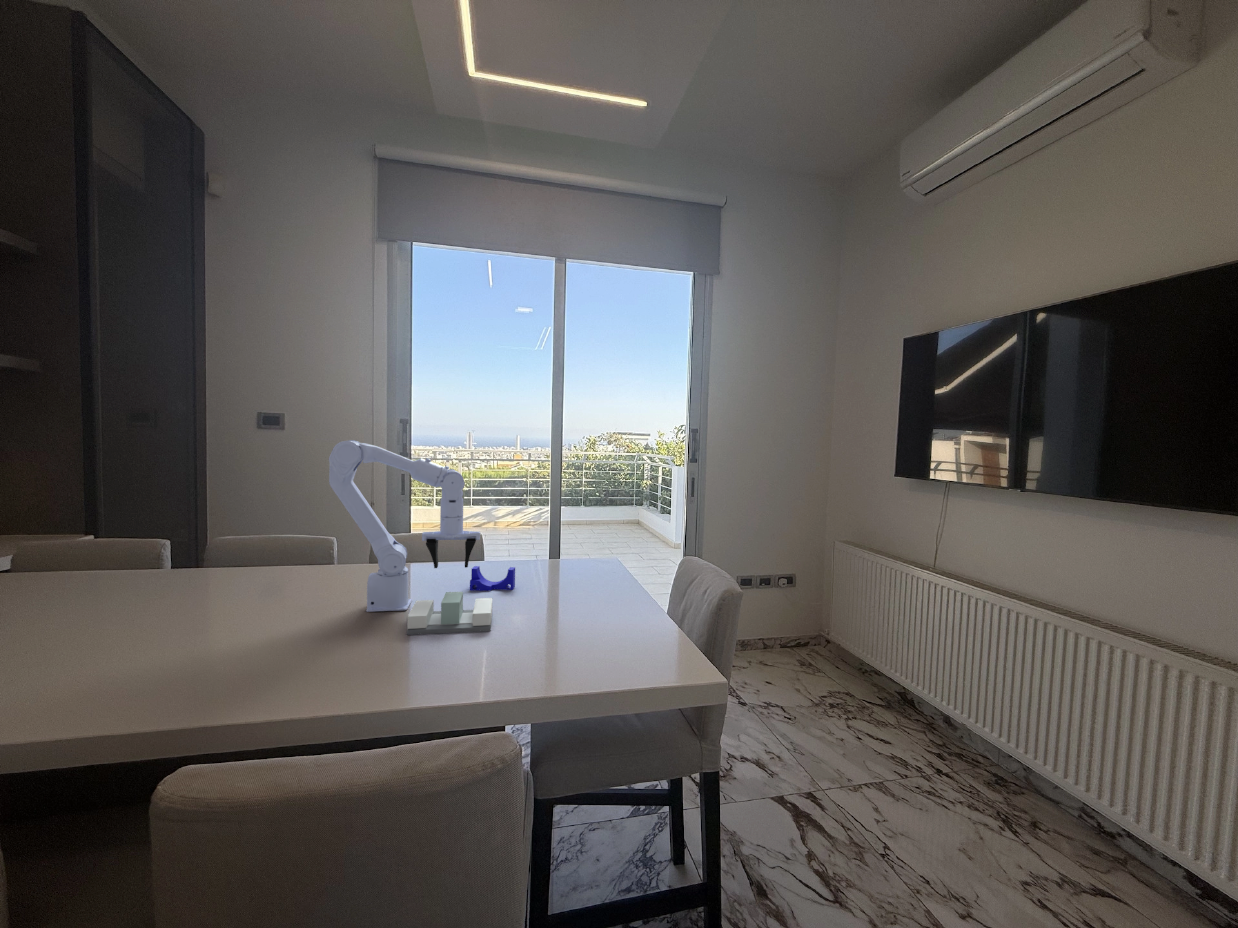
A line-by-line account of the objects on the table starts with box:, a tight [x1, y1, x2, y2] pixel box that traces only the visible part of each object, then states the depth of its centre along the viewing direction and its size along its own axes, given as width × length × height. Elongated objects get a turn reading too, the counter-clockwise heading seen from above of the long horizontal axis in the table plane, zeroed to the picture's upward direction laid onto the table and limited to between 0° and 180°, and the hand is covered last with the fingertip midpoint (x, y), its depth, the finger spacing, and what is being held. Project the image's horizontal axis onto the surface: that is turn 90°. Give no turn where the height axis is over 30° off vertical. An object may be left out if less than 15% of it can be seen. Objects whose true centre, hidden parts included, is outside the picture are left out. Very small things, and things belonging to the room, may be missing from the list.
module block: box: [440, 591, 464, 624], centre depth 124 cm, size 4×8×5 cm, turn 11°
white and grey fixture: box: [406, 597, 493, 636], centre depth 123 cm, size 18×12×4 cm, turn 102°
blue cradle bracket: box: [469, 565, 516, 592], centre depth 151 cm, size 12×4×6 cm, turn 90°
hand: (451, 566), depth 138 cm, fingers open, 7 cm apart
